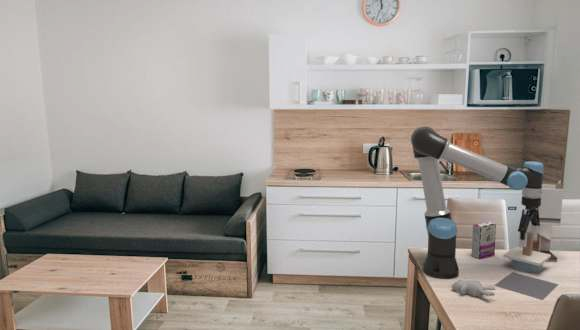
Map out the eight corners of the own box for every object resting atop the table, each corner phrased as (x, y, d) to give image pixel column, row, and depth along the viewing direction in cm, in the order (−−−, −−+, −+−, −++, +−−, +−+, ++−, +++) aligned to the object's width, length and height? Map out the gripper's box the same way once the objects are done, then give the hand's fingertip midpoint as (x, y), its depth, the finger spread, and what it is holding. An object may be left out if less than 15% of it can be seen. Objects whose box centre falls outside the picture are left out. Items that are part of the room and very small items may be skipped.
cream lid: (539, 266, 184) (541, 240, 182) (503, 257, 195) (504, 233, 193) (550, 257, 194) (552, 233, 192) (515, 249, 205) (517, 226, 203)
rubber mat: (542, 301, 163) (542, 300, 163) (493, 287, 176) (494, 285, 176) (558, 286, 177) (558, 284, 177) (512, 273, 190) (512, 272, 190)
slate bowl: (522, 274, 189) (523, 262, 188) (505, 264, 200) (506, 253, 200) (547, 273, 190) (548, 261, 189) (529, 263, 202) (530, 251, 201)
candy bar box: (486, 252, 216) (488, 220, 214) (494, 255, 212) (496, 223, 210) (470, 256, 211) (472, 223, 209) (479, 259, 207) (481, 226, 204)
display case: (530, 260, 205) (536, 188, 200) (523, 252, 215) (528, 184, 210) (556, 262, 203) (563, 189, 197) (548, 254, 213) (554, 185, 208)
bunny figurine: (456, 276, 178) (495, 281, 169) (457, 288, 179) (496, 293, 169) (449, 283, 171) (489, 289, 162) (450, 296, 171) (490, 302, 162)
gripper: (531, 202, 179) (527, 251, 182) (549, 193, 196) (546, 238, 199) (511, 199, 184) (508, 247, 188) (531, 191, 201) (528, 234, 205)
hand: (527, 242), depth 193 cm, fingers open, 13 cm apart
